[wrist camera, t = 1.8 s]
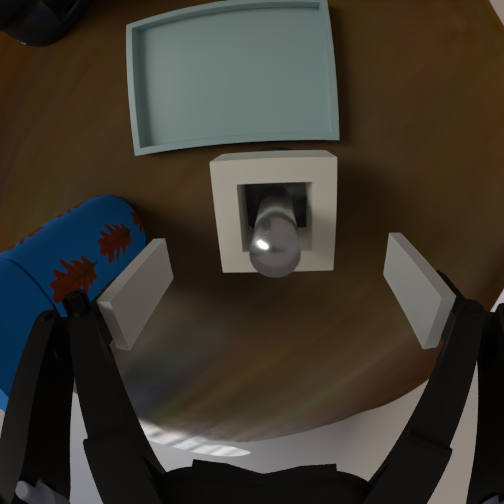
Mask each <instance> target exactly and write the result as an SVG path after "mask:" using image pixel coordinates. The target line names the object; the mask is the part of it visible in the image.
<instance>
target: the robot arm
mask: <svg viewBox="0 0 504 504" xmlns="http://www.w3.org/2000/svg"><path fill="white" fill-rule="evenodd" d="M91 1H92V0H0V31H3V32H4V33H6V34H8V35H9V36H11V37H13V38H15V39H17V40H18V41H19V42H20V43H21V44H23V45H27V46H35V47H41V46H45V45H48V44H50V43H52V42H54V41H55V40H57V39H58V38H60V37H61V36H62V35H64V34H65V33H66V32H67V31H68V30H69V29H70V28H71V27H72V26H73V25H74V24H75V23H76V22H77V21H78V20H79V18H80V17H81V16H82V15H83V13H84V12H85V11H86V9H87V8H88V6H89V5H90V3H91ZM383 275H384V277H385V279H386V280H387V282H388V284H389V286H390V287H391V289H392V291H393V293H394V294H395V296H396V298H397V300H398V302H399V303H400V305H401V307H402V309H403V311H404V313H405V315H406V316H407V318H408V320H409V322H410V324H411V326H412V328H413V330H414V332H415V334H416V336H417V338H418V340H419V342H420V344H421V346H422V348H423V349H428V348H434V347H437V345H438V343H439V340H440V338H441V337H442V339H443V341H444V345H443V347H442V349H441V351H440V354H439V356H438V358H437V362H436V365H435V367H434V369H433V372H432V374H431V376H430V379H429V381H428V383H427V385H426V388H425V390H424V392H423V394H422V396H421V398H420V400H419V402H418V404H417V406H416V408H415V410H414V412H413V414H412V416H411V417H410V419H409V421H408V423H407V425H406V426H405V428H404V430H403V432H402V434H401V435H400V437H399V438H398V440H397V442H396V443H395V445H394V447H393V448H392V450H391V451H390V453H389V455H388V456H387V457H386V459H385V460H384V462H383V463H382V465H381V466H380V468H379V469H378V470H377V471H376V473H375V474H374V475H373V476H372V478H371V479H370V480H369V481H368V482H367V481H366V480H364V479H362V478H360V477H358V476H356V475H353V474H350V473H346V472H340V471H337V469H336V464H325V465H310V466H299V467H294V468H290V469H286V470H281V471H277V472H271V473H266V474H261V473H257V472H254V471H250V470H247V469H243V468H240V467H236V466H233V465H230V464H227V463H218V462H209V461H202V460H195V459H194V460H193V464H192V467H184V468H178V469H175V470H171V471H169V472H166V471H165V470H164V468H163V467H162V465H161V464H160V463H159V461H158V459H157V457H156V456H155V454H154V452H153V450H152V448H151V446H150V444H149V442H148V440H147V438H146V436H145V434H144V431H143V429H142V427H141V425H140V423H139V421H138V418H137V416H136V414H135V412H134V409H133V407H132V404H131V402H130V400H129V397H128V395H127V392H126V390H125V387H124V384H123V382H122V379H121V376H120V373H119V371H118V368H117V365H116V362H115V359H114V356H113V353H112V350H111V348H110V346H109V344H110V343H111V341H112V340H113V341H114V344H115V346H116V348H117V349H122V350H129V351H130V350H131V348H132V347H133V345H134V343H135V341H136V340H137V338H138V336H139V334H140V333H141V331H142V329H143V328H144V326H145V324H146V323H147V321H148V319H149V318H150V316H151V314H152V313H153V311H154V309H155V308H156V306H157V304H158V303H159V301H160V299H161V298H162V296H163V294H164V293H165V291H166V290H167V288H168V286H169V285H170V283H171V282H172V280H173V274H172V269H171V265H170V260H169V255H168V250H167V245H166V240H165V238H161V239H153V240H152V241H151V242H150V243H149V244H148V245H147V246H146V247H145V248H144V249H143V250H142V251H141V253H140V254H139V255H138V256H137V257H136V258H135V259H134V260H133V261H132V262H131V263H130V264H129V265H128V266H127V267H126V268H125V270H124V271H123V272H122V273H121V274H120V275H119V276H118V277H116V278H114V279H113V280H111V281H110V282H108V283H107V285H106V286H105V287H104V288H103V289H102V290H101V291H100V293H98V295H97V296H96V297H95V298H94V299H93V300H92V301H91V302H90V300H89V298H88V295H87V293H86V291H85V290H83V289H77V290H73V291H71V292H69V293H67V294H66V295H65V296H64V297H63V298H62V300H61V302H62V305H63V307H64V309H65V311H66V314H67V316H68V317H61V318H59V317H58V314H57V312H56V311H55V310H53V309H50V310H45V311H43V312H41V313H40V314H39V315H38V316H37V317H36V319H35V321H34V324H33V326H32V329H31V331H30V334H29V336H28V339H27V341H26V344H25V347H24V350H23V352H22V355H21V358H20V361H19V364H18V367H17V370H16V374H15V377H14V380H13V384H12V387H11V391H10V395H9V399H8V403H7V407H6V411H5V417H4V421H3V426H2V431H1V438H0V504H70V502H69V499H70V488H71V486H70V422H71V407H72V394H73V385H74V377H75V382H76V387H77V393H78V398H79V402H80V407H81V412H82V416H83V420H84V424H85V428H86V432H87V435H88V439H84V441H83V445H84V450H85V454H86V457H87V460H88V464H89V467H90V470H91V473H92V476H93V478H94V481H95V484H96V487H97V489H98V492H99V494H100V497H101V499H102V502H103V504H427V502H428V501H429V499H430V497H431V495H432V493H433V492H434V490H435V488H436V486H437V484H438V482H439V480H440V479H441V477H442V475H443V472H444V470H445V468H446V466H447V464H448V462H449V460H450V457H451V454H452V449H451V448H450V444H451V441H452V439H453V436H454V434H455V431H456V429H457V426H458V423H459V420H460V418H461V415H462V412H463V409H464V406H465V403H466V399H467V396H468V393H469V389H470V386H471V382H472V378H473V374H474V370H475V366H476V362H477V365H478V422H477V435H476V445H475V454H474V461H473V467H472V473H471V479H470V484H469V489H468V495H467V501H466V504H504V303H501V304H499V305H498V306H497V309H496V311H495V312H488V311H485V310H484V307H483V306H482V305H481V304H480V303H479V302H477V301H475V300H471V299H465V298H464V296H463V295H462V294H461V293H460V291H459V290H458V289H457V288H456V287H454V284H453V283H452V282H451V281H450V280H449V278H448V277H447V276H446V275H445V274H443V273H442V272H440V271H438V270H436V271H435V270H434V269H433V268H432V266H431V265H430V264H429V263H428V262H427V261H426V260H425V259H424V257H423V256H422V255H421V254H420V253H419V252H418V251H417V250H416V249H415V247H414V246H413V245H412V244H411V243H410V242H409V241H408V240H407V239H406V238H405V237H404V236H403V235H402V234H401V233H389V238H388V245H387V253H386V259H385V266H384V272H383Z"/></svg>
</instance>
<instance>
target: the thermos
mask: <svg viewBox="0 0 504 504" xmlns="http://www.w3.org/2000/svg"><path fill="white" fill-rule="evenodd" d="M145 247H146V234H145V231H144V228H143V224H142V221H141V219H140V218H139V216H138V215H137V213H136V212H135V210H134V209H133V208H132V207H131V206H130V205H129V204H128V203H126V202H125V201H124V200H123V199H121V198H118V197H115V196H112V195H99V196H96V197H94V198H92V199H89V200H87V201H85V202H82V203H80V204H78V205H77V206H75V207H73V208H71V209H70V210H68V211H66V212H64V213H63V214H61V215H59V216H58V217H56V218H54V219H53V220H51V221H49V222H48V223H46V224H44V225H43V226H41V227H40V228H38V229H36V230H35V231H33V232H32V233H30V234H29V235H27V236H26V237H24V238H23V239H21V240H20V241H18V242H17V243H15V244H14V245H12V246H11V247H10V248H8V249H7V250H5V251H4V252H3V253H1V254H0V409H2V410H3V411H4V412H5V411H6V407H7V403H8V399H9V395H10V391H11V387H12V384H13V380H14V377H15V374H16V370H17V367H18V364H19V361H20V358H21V355H22V352H23V350H24V347H25V344H26V341H27V339H28V336H29V334H30V331H31V329H32V326H33V324H34V321H35V319H36V317H37V316H38V315H39V314H40V313H41V312H43V311H45V310H50V309H53V310H55V311H56V312H57V314H58V317H59V318H61V317H68V316H67V314H66V311H65V309H64V307H63V305H62V302H61V300H62V298H63V297H64V296H65V295H66V294H67V293H69V292H71V291H73V290H77V289H83V290H85V291H86V293H87V295H88V298H89V300H90V302H91V301H92V300H93V299H94V298H95V297H96V296H97V295H98V293H100V291H101V290H102V289H103V288H104V287H105V286H106V285H107V283H108V282H110V281H111V280H113V279H114V278H116V277H118V276H119V275H120V274H121V273H122V272H123V271H124V270H125V268H126V267H127V266H128V265H129V264H130V263H131V262H132V261H133V260H134V259H135V258H136V257H137V256H138V255H139V254H140V253H141V251H142V250H143V249H144V248H145Z"/></svg>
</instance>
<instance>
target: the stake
mask: <svg viewBox="0 0 504 504" xmlns="http://www.w3.org/2000/svg"><path fill="white" fill-rule="evenodd" d="M288 150H290V149H287V148H282V147H271V148H265V149H262V150H259V151H257V152H262V151H288ZM245 187H246V199H247V212H248V224H249V225H250V226H251V227H252V228H254V233H253V237H252V242H251V247H250V252H249V257H250V261H251V264H252V265H253V267H254V268H255V269H256V270H257V271H258V272H259V273H261V274H262V275H265V276H268V277H273V278H277V277H283V276H286V275H288V274H290V273H291V272H293V271H294V270H295V269H296V267H297V266H298V264H299V262H300V258H301V251H300V245H299V238H298V232H297V227H302V226H303V225H304V224H305V223H306V182H285V183H257V184H245Z"/></svg>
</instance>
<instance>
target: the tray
mask: <svg viewBox="0 0 504 504" xmlns="http://www.w3.org/2000/svg"><path fill="white" fill-rule="evenodd" d="M126 55H127V79H128V94H129V106H130V117H131V127H132V135H133V144H134V151H135V156H137V155H143V154H149V153H155V152H161V151H168V150H175V149H182V148H190V147H198V146H207V145H217V144H228V143H240V142H255V141H277V140H339V114H338V95H337V81H336V69H335V58H334V48H333V40H332V32H331V24H330V17H329V10H328V4H327V0H228V1H220V2H214V3H208V4H202V5H197V6H192V7H187V8H183V9H179V10H175V11H171V12H167V13H163V14H159V15H156V16H152V17H149V18H146V19H143V20H140V21H137V22H134V23H131V24H128V25H126Z"/></svg>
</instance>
